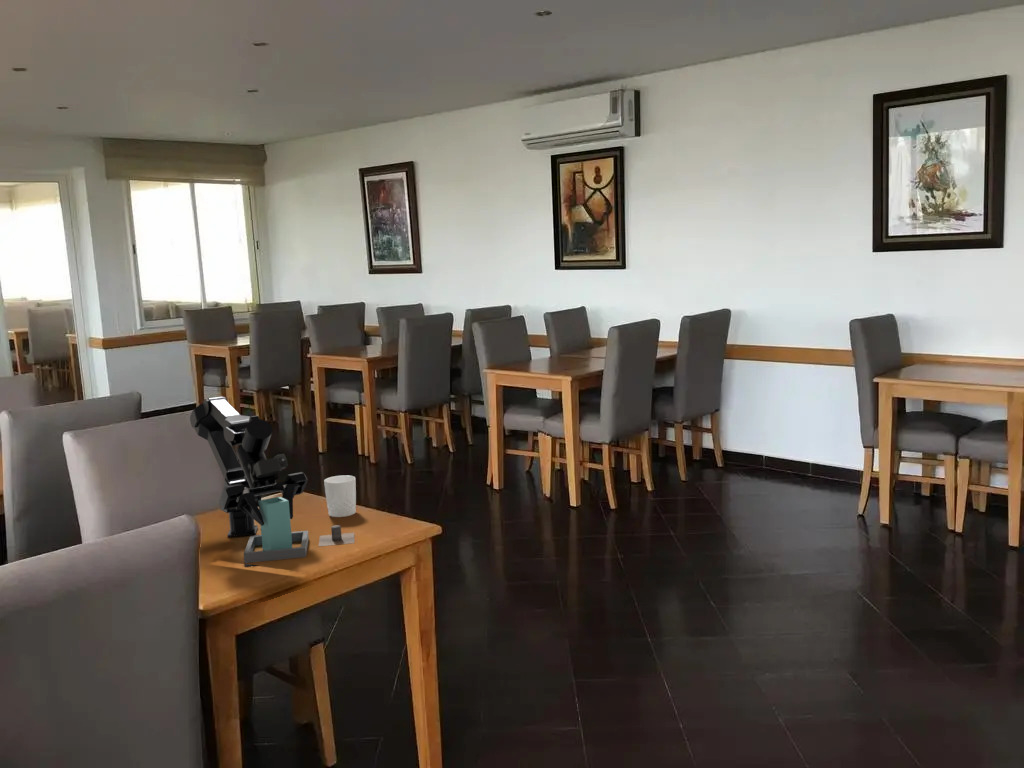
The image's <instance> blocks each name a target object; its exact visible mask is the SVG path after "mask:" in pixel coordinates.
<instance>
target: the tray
mask: <svg viewBox="0 0 1024 768" xmlns="http://www.w3.org/2000/svg"><path fill="white" fill-rule="evenodd" d="M291 536H292V543H294V542H301V544H300V546H297V547H292V548H285V549H275V550H265V551H263V550H257V551H254V550H255V547H256V546H262V537H261V534H254V535H249V539H248V541H247V543H246V547H245V549H244V552H243V562H244V568H251V566H253V567H260V565H258V564H257V565H256V564H250V563H257V562H270V561H278V560H288V559H299V558H306V557H307V553H308V552H307V551H308V545H309V541H310V540H309V539H310V536H309V530H299V531H291Z"/></svg>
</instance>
